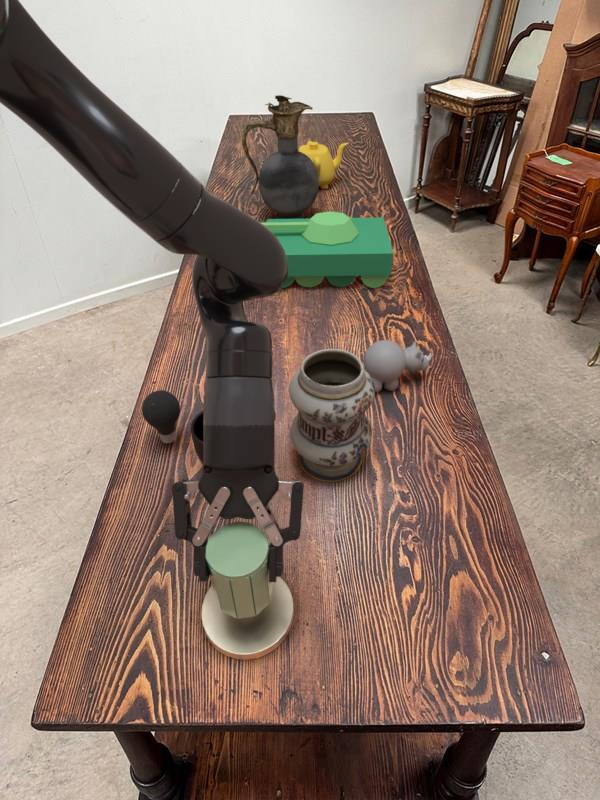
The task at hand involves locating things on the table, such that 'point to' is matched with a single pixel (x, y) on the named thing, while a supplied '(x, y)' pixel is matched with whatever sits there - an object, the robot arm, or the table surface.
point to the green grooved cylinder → (239, 569)
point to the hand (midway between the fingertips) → (239, 579)
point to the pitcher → (285, 164)
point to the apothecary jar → (331, 414)
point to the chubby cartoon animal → (392, 362)
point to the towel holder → (249, 625)
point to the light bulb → (162, 413)
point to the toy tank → (334, 249)
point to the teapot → (323, 161)
